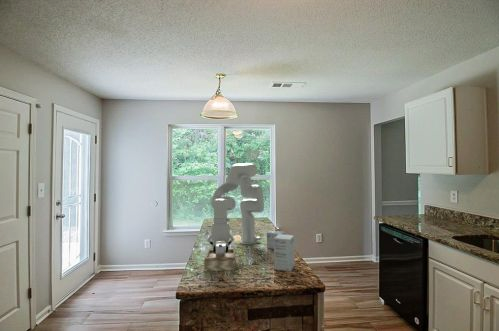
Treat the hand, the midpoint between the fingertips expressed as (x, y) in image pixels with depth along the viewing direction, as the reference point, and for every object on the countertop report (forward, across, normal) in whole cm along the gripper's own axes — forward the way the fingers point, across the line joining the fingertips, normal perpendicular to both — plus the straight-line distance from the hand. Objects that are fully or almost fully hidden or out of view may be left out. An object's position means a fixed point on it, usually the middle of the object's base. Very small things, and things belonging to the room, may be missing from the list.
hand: (220, 252), depth 154 cm
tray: (+7, 0, 0) cm, 7 cm away
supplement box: (+7, -35, +6) cm, 36 cm away
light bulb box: (+7, -35, -31) cm, 47 cm away
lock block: (+2, 0, 0) cm, 2 cm away
